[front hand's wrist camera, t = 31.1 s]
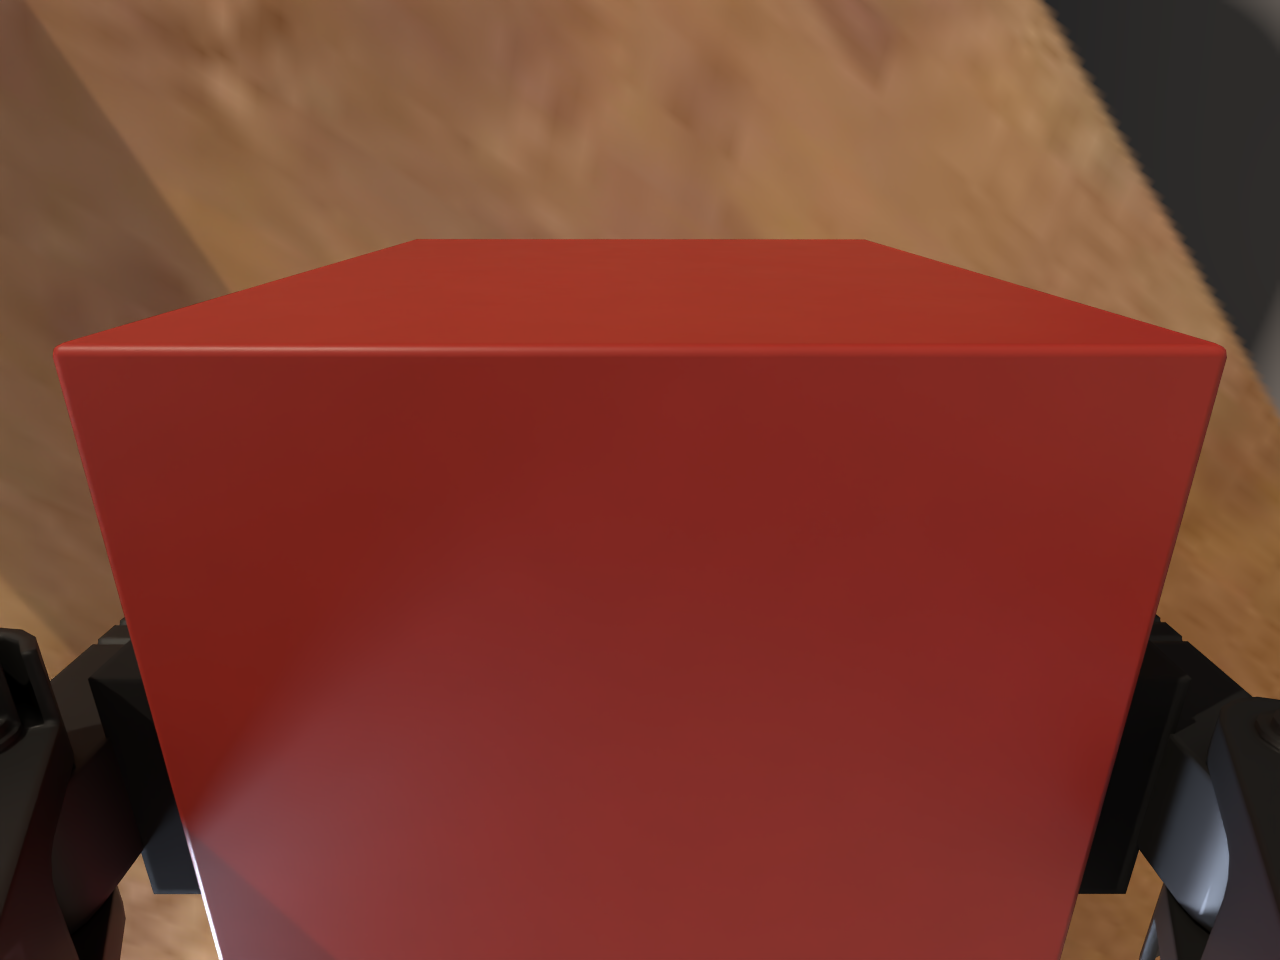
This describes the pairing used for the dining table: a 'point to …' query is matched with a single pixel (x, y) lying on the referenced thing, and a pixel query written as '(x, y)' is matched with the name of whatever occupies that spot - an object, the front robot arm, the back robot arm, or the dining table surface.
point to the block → (639, 594)
